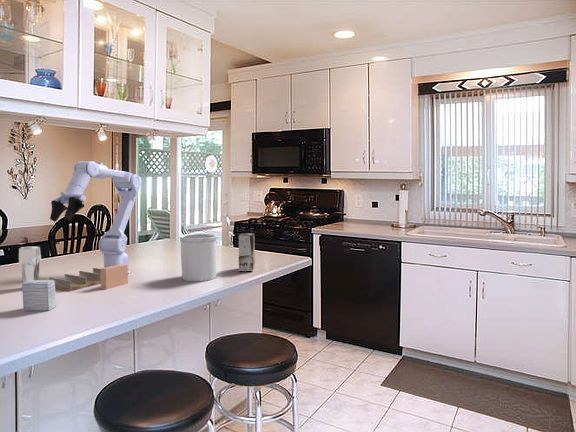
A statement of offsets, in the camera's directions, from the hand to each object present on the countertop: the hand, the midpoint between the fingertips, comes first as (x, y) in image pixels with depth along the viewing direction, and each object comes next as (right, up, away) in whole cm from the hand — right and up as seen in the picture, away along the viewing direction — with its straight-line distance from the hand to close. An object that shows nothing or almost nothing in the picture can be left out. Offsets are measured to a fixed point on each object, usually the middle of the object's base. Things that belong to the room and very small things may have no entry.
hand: (59, 219), depth 152 cm
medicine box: (+4, -28, -19) cm, 34 cm away
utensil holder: (+44, -24, +24) cm, 56 cm away
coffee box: (+62, -23, +40) cm, 77 cm away
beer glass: (-14, -26, +6) cm, 30 cm away
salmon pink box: (+15, -25, +10) cm, 31 cm away
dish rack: (+2, -25, +14) cm, 28 cm away
